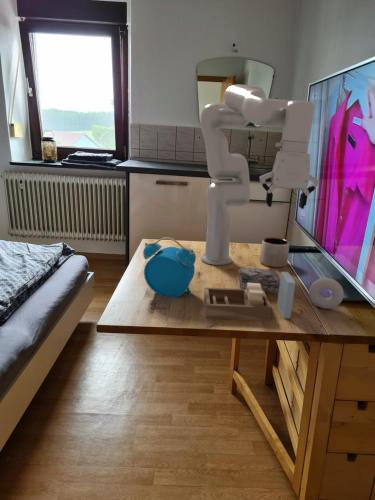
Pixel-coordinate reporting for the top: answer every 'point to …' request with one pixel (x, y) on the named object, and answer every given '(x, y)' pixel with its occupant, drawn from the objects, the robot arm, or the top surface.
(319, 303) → the tape roll
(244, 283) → the rock
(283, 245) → the planter
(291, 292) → the light blue flat box
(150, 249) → the alarm clock
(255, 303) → the block
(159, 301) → the top surface
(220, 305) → the rack
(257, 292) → the offcut top
